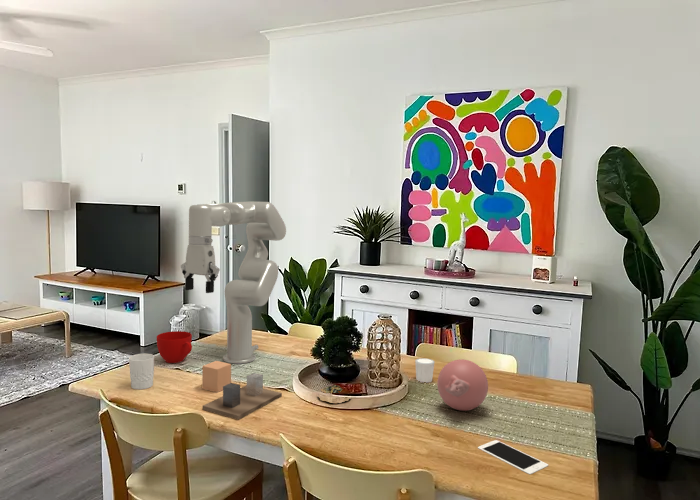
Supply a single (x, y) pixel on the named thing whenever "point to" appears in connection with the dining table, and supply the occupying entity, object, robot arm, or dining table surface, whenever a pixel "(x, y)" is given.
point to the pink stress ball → (462, 384)
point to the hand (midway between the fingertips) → (199, 291)
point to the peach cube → (216, 376)
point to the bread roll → (332, 389)
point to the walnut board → (242, 403)
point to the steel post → (254, 384)
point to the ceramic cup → (174, 345)
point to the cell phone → (513, 457)
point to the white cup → (141, 370)
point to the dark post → (231, 395)
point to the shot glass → (424, 369)
